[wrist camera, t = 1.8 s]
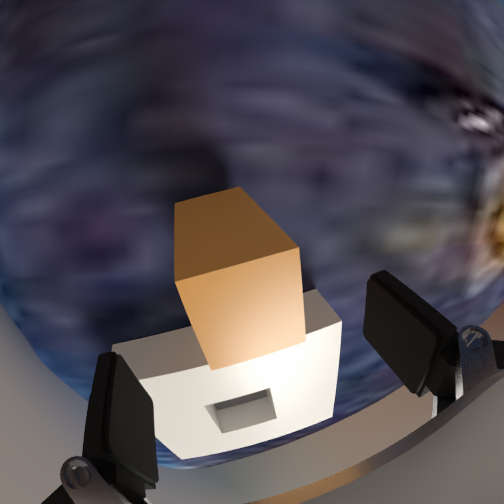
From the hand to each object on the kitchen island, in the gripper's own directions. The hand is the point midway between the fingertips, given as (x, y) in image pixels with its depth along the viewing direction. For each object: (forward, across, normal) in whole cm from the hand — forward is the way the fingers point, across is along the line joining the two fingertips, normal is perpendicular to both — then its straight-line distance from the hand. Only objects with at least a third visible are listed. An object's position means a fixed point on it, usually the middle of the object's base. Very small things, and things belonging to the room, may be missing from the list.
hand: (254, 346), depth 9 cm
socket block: (+11, +2, +15) cm, 19 cm away
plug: (+11, 0, -1) cm, 11 cm away
